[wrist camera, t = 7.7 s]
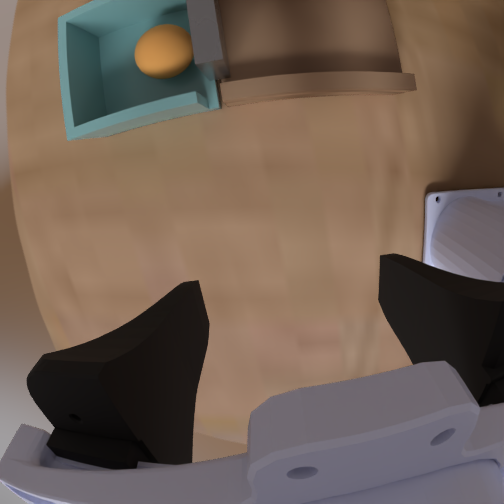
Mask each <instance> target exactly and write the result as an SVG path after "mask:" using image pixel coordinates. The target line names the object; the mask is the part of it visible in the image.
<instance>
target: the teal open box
mask: <svg viewBox="0 0 504 504" xmlns="http://www.w3.org/2000/svg"><path fill="white" fill-rule="evenodd" d="M163 24H172V25H177V26H179V27H182V28H183V29H185V30H186V31H187V32H188V33H189V34H190V36H191V33H190V25H189V18H188V11H187V3H186V0H94V1H91V2H89V3H87V4H85V5H83V6H81V7H79V8H77V9H75V10H73V11H71V12H69V13H67V14H65V15H63V16H61V17H59V18H58V54H59V72H60V85H61V95H62V105H63V113H64V120H65V127H66V134H67V140H68V141H71V140H79V139H89V138H100V137H108V136H111V135H114V134H118V133H121V132H124V131H128V130H131V129H135V128H139V127H142V126H146V125H150V124H154V123H158V122H162V121H166V120H170V119H174V118H178V117H183V116H188V115H192V114H197V113H202V112H207V111H213V110H218V109H221V104H220V97H219V91H218V85H217V80H213V81H209V80H208V78H207V77H206V76H205V75H204V74H203V73H202V72H201V71H200V69H199V68H198V67H197V66H196V65H195V60H194V56H193V59H192V61H191V63H190V65H189V66H188V67H187V68H186V69H185V70H184V71H183V72H182V73H180V74H179V75H177V76H174V77H171V78H167V79H156V78H152V77H149V76H147V75H146V74H144V73H143V72H142V71H141V70H140V69H139V67H138V66H137V64H136V61H135V47H136V44H137V42H138V40H139V39H140V37H141V36H142V35H143V34H144V33H145V32H146V31H148V30H149V29H151V28H153V27H155V26H158V25H163Z"/></svg>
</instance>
